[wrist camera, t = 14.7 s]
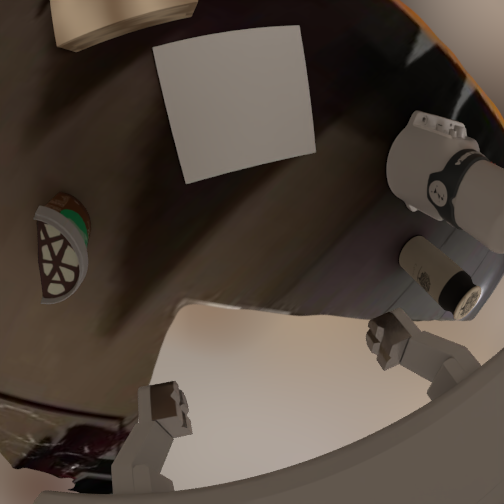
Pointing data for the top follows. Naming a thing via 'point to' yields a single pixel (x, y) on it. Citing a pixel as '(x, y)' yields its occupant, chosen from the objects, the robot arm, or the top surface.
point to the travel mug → (439, 276)
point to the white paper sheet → (236, 99)
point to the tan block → (110, 18)
